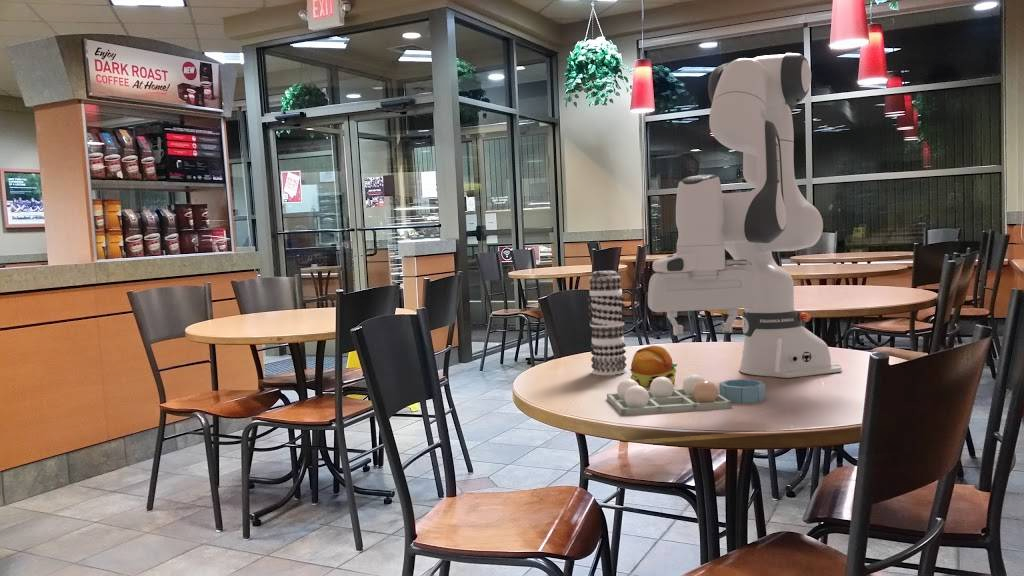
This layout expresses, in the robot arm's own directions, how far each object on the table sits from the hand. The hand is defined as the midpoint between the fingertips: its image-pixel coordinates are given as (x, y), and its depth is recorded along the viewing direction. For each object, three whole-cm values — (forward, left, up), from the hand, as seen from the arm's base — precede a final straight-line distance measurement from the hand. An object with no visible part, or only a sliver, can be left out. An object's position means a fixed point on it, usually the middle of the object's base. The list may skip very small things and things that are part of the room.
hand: (702, 333), depth 144 cm
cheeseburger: (+4, -23, -15) cm, 28 cm away
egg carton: (+6, -4, -14) cm, 16 cm away
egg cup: (-9, -4, -14) cm, 17 cm away
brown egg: (0, 0, -14) cm, 14 cm away
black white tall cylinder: (+10, -43, -15) cm, 47 cm away
